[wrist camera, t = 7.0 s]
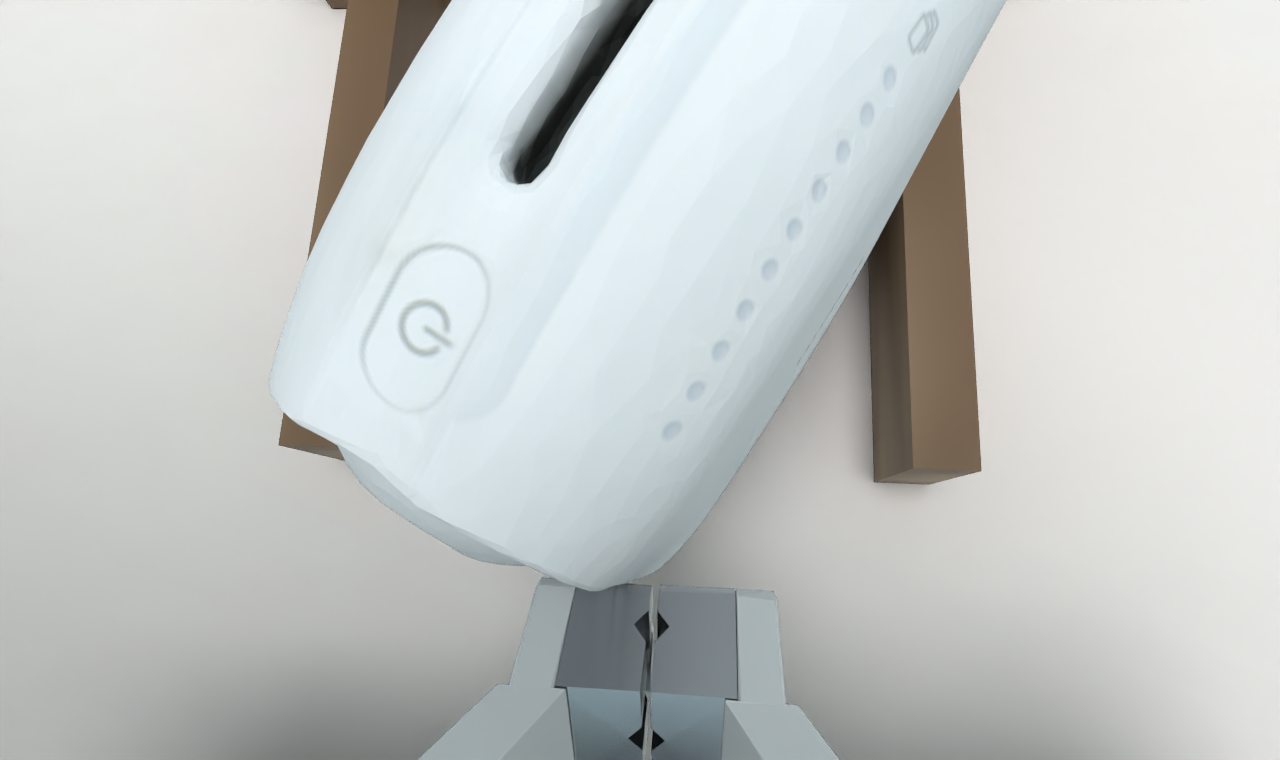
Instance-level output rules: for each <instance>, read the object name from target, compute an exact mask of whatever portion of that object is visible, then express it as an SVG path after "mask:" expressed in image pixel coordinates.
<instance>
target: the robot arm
mask: <svg viewBox="0 0 1280 760" xmlns="http://www.w3.org/2000/svg"><path fill="white" fill-rule="evenodd" d="M653 606H654V600H653V586H649V585H637V584H625V583H624V584H621V585H616V586H612V587H609V588H607V589H604V590H601V591H587V590H584V589H581V588H578V587H575V586H572V585H568V584H565V583H562V582H560V581H558V580H556V579H554V578H545V577H542V579H541V580H540V582H539V584H538V585H537V587H536V590H535V593H534V597H533V600H532V604H531V608H530V611H529V615H528V618H527V622H526V625H525V629H524V632H523V636H522V640H521V643H520V647H519V650H518V654H517V657H516V661H515V664H514V668H513V672H512V675H511V679H510V682H509V684H497V685H496V686H495V687H494V688H493V689H492V690H491V691H490V692H489V693H488V694H486V695H485V696H484V697H483V698H482V699H481V700H480V701H479V702H478V703H477V704H476V705H475V706H474V707H473V708H472V709H471V710H470V711H469V712H467V713H466V714H465V715H464V716H463V717H462V718H461V719H460V720H459V721H458V722H457V723H456V724H455V725H454V726H453V727H452V728H451V729H450V730H448V731H447V732H446V733H445V734H444V735H443V736H442V737H441V738H440V739H439V740H438V741H437V742H436V743H435V744H434V745H433V746H432V747H431V748H429V749H428V750H427V751H426V752H425V753H424V754H423V755H422V756H421V757H420V758H419V759H418V760H645V756H646V746H647V735H648V701H649V700H650V699H651V728H652V729H653V737H652V750H651V754H652V760H839V759H838V757H837V756H836V755H835V753H834V752H833V751H832V749H831V748H830V747H829V745H828V744H827V743H826V742H825V740H824V739H823V738H822V736H821V735H820V734H819V732H818V731H817V730H816V728H815V727H814V726H813V724H812V723H811V722H810V720H809V719H808V718H807V716H806V715H805V714H804V712H803V711H802V710H801V709H800V707H799V706H798V705H789V704H786V698H785V687H784V675H783V664H782V652H781V641H780V630H779V618H778V607H777V597H776V595H775V593H774V591H763V590H745V589H736V590H734V588H713V587H690V586H668V585H661V587H660V592H659V601H658V639H657V640H656V641H655V644H654V626H653V625H652V617H653Z"/></svg>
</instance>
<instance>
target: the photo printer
mask: <svg viewBox="0 0 1280 760" xmlns="http://www.w3.org/2000/svg"><path fill="white" fill-rule="evenodd" d="M1005 2H1006V0H452V1H451V2H450V4H449V5H448V7H447V8H446V10H445V11H444V13H443V15H442V16H441V18H440V19H439V21H438V22H437V24H436V25H435V27H434V29H433V30H432V32H431V33H430V35H429V36H428V38H427V39H426V41H425V42H424V44H423V46H422V47H421V49H420V50H419V52H418V53H417V55H416V57H415V58H414V60H413V62H412V63H411V65H410V67H409V69H408V70H407V72H406V74H405V75H404V77H403V79H402V80H401V82H400V84H399V86H398V87H397V89H396V91H395V92H394V94H393V96H392V97H391V99H390V101H389V102H388V104H387V106H386V108H385V109H384V111H383V113H382V114H381V116H380V118H379V119H378V121H377V123H376V125H375V126H374V128H373V130H372V131H371V133H370V135H369V136H368V138H367V140H366V142H365V144H364V146H363V148H362V150H361V152H360V153H359V155H358V157H357V159H356V161H355V163H354V165H353V167H352V169H351V171H350V172H349V174H348V176H347V178H346V180H345V182H344V184H343V186H342V188H341V190H340V192H339V194H338V196H337V198H336V200H335V202H334V204H333V206H332V208H331V210H330V212H329V214H328V216H327V218H326V220H325V222H324V224H323V226H322V229H321V231H320V233H319V236H318V238H317V240H316V242H315V245H314V247H313V249H312V252H311V254H310V256H309V258H308V261H307V263H306V265H305V268H304V271H303V273H302V276H301V279H300V282H299V285H298V288H297V291H296V293H295V296H294V299H293V302H292V305H291V308H290V311H289V313H288V316H287V319H286V322H285V325H284V328H283V332H282V335H281V338H280V341H279V344H278V348H277V351H276V355H275V359H274V362H273V366H272V370H271V374H270V378H269V388H270V395H271V396H272V397H273V399H274V400H275V401H276V403H277V404H278V406H279V407H280V409H281V410H282V411H283V412H284V413H285V414H286V415H287V416H288V417H289V418H291V419H292V420H293V421H294V422H296V423H297V424H298V425H300V426H302V427H304V428H306V429H308V430H310V431H312V432H314V433H316V434H318V435H320V436H322V437H324V438H325V439H327V440H329V441H331V442H332V443H334V444H336V445H337V446H338V447H339V449H340V451H341V453H342V455H343V457H344V459H345V461H346V463H347V464H348V466H349V467H350V469H351V470H352V472H353V473H354V475H355V476H356V478H357V479H358V481H359V482H360V483H361V484H362V485H363V486H364V487H365V488H366V489H367V490H368V491H369V492H370V493H371V494H373V495H374V496H375V497H376V498H377V499H378V500H379V501H380V502H381V503H383V504H384V505H386V506H387V507H389V508H390V509H392V510H393V511H394V512H396V513H397V514H399V515H400V516H402V517H403V518H405V519H406V520H408V521H409V522H410V523H412V524H413V525H415V526H417V527H418V528H420V529H422V530H423V531H425V532H427V533H428V534H430V535H432V536H433V537H435V538H437V539H438V540H440V541H442V542H443V543H445V544H447V545H448V546H450V547H452V548H453V549H455V550H456V551H458V552H460V553H461V554H463V555H466V556H468V557H471V558H473V559H476V560H479V561H482V562H488V563H494V564H501V565H518V566H529V567H531V568H533V569H535V570H537V571H540V572H542V573H544V574H546V575H548V576H550V577H552V578H554V579H556V580H558V581H560V582H562V583H565V584H568V585H572V586H575V587H578V588H581V589H584V590H587V591H601V590H604V589H607V588H609V587H612V586H616V585H621V584H624V583H628V582H629V581H632V580H636V579H638V578H641V577H644V576H646V575H649V574H652V573H653V572H656V571H657V570H659V569H660V568H661V567H662V566H663V565H664V564H665V563H666V562H667V561H668V560H670V559H671V558H672V557H673V556H674V555H675V554H676V553H677V552H678V551H679V549H680V548H681V547H682V546H683V545H684V544H685V543H686V542H687V540H688V539H689V538H690V537H691V536H692V535H693V533H694V532H695V531H696V529H697V528H698V527H699V525H700V524H701V523H702V521H703V520H704V518H705V517H706V516H707V514H708V513H709V511H710V510H711V508H712V507H713V506H714V504H715V503H716V501H717V500H718V498H719V497H720V496H721V494H722V493H723V491H724V490H725V488H726V487H727V485H728V484H729V482H730V481H731V480H732V478H733V477H734V475H735V474H736V472H737V471H738V469H739V468H740V466H741V464H742V463H743V461H744V460H745V458H746V457H747V455H748V454H749V452H750V451H751V449H752V447H753V446H754V444H755V443H756V441H757V440H758V438H759V437H760V435H761V434H762V432H763V431H764V429H765V427H766V426H767V424H768V423H769V421H770V420H771V418H772V416H773V415H774V413H775V412H776V410H777V409H778V407H779V406H780V404H781V402H782V401H783V399H784V398H785V396H786V394H787V393H788V391H789V390H790V388H791V387H792V385H793V383H794V382H795V380H796V379H797V377H798V375H799V374H800V372H801V371H802V369H803V367H804V366H805V364H806V362H807V361H808V359H809V358H810V356H811V354H812V353H813V351H814V350H815V348H816V346H817V345H818V343H819V341H820V339H821V338H822V336H823V334H824V333H825V331H826V329H827V328H828V326H829V324H830V323H831V321H832V319H833V318H834V316H835V314H836V313H837V311H838V309H839V308H840V306H841V304H842V303H843V301H844V299H845V297H846V296H847V294H848V292H849V290H850V288H851V287H852V285H853V283H854V281H855V279H856V278H857V276H858V274H859V272H860V271H861V269H862V267H863V265H864V263H865V262H866V260H867V258H868V256H869V254H870V253H871V251H872V249H873V247H874V245H875V243H876V241H877V240H878V238H879V236H880V234H881V232H882V230H883V228H884V226H885V225H886V223H887V221H888V219H889V217H890V215H891V213H892V212H893V210H894V208H895V206H896V204H897V202H898V200H899V198H900V197H901V195H902V193H903V191H904V189H905V187H906V185H907V184H908V182H909V180H910V178H911V176H912V174H913V172H914V170H915V169H916V167H917V165H918V163H919V161H920V159H921V157H922V155H923V154H924V152H925V150H926V148H927V146H928V144H929V142H930V141H931V139H932V137H933V135H934V133H935V131H936V129H937V128H938V126H939V124H940V122H941V120H942V118H943V116H944V114H945V113H946V111H947V109H948V107H949V105H950V103H951V101H952V100H953V98H954V96H955V94H956V92H957V90H958V88H959V87H960V85H961V83H962V81H963V79H964V77H965V75H966V73H967V72H968V70H969V68H970V66H971V64H972V62H973V60H974V59H975V57H976V55H977V53H978V51H979V49H980V47H981V46H982V44H983V42H984V40H985V38H986V36H987V35H988V33H989V31H990V29H991V27H992V25H993V24H994V22H995V20H996V18H997V16H998V15H999V13H1000V11H1001V9H1002V7H1003V5H1004V4H1005Z"/></svg>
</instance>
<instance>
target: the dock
mask: <svg viewBox="0 0 1280 760" xmlns="http://www.w3.org/2000/svg"><path fill="white" fill-rule="evenodd" d="M326 1H327V2H328V4H329V5H330V7H331V8H347V11H346V18H345V24H344V31H343V37H342V43H341V50H340V56H339V62H338V69H337V75H336V82H335V88H334V94H333V101H332V107H331V114H330V120H329V126H328V133H327V139H326V145H325V152H324V158H323V165H322V171H321V177H320V184H319V190H318V197H317V203H316V209H315V216H314V222H313V228H312V235H311V241H310V248H309V254H308V258H309V256H310V254H311V252H312V249H313V247H314V245H315V242H316V240H317V238H318V236H319V233H320V231H321V229H322V226H323V224H324V222H325V220H326V218H327V216H328V214H329V212H330V210H331V208H332V206H333V204H334V202H335V200H336V198H337V196H338V194H339V192H340V190H341V188H342V186H343V184H344V182H345V180H346V178H347V176H348V174H349V172H350V171H351V169H352V167H353V165H354V163H355V161H356V159H357V157H358V155H359V153H360V152H361V150H362V148H363V146H364V144H365V142H366V140H367V138H368V136H369V135H370V133H371V131H372V130H373V128H374V126H375V125H376V123H377V121H378V119H379V118H380V116H381V114H382V113H383V111H384V109H385V108H386V106H387V104H388V102H389V101H390V99H391V97H392V96H393V94H394V92H395V91H396V89H397V87H398V86H399V84H400V82H401V80H402V79H403V77H404V75H405V74H406V72H407V70H408V69H409V67H410V65H411V63H412V62H413V60H414V58H415V57H416V55H417V53H418V52H419V50H420V49H421V47H422V46H423V44H424V42H425V41H426V39H427V38H428V36H429V35H430V33H431V32H432V30H433V29H434V27H435V25H436V24H437V22H438V21H439V19H440V18H441V16H442V15H443V13H444V11H445V10H446V8H447V7H448V5H449V4H450V2H451V1H452V0H326ZM307 261H308V260H307ZM869 295H870V334H871V374H872V413H873V452H874V482H884V483H910V484H933V483H936V482H940V481H944V480H948V479H952V478H956V477H960V476H964V475H968V474H972V473H976V472H980V471H981V456H980V438H979V421H978V404H977V387H976V369H975V352H974V335H973V318H972V301H971V283H970V266H969V249H968V232H967V214H966V197H965V180H964V163H963V145H962V128H961V111H960V94H959V88H958V90H957V92H956V94H955V96H954V98H953V100H952V101H951V103H950V105H949V107H948V109H947V111H946V113H945V114H944V116H943V118H942V120H941V122H940V124H939V126H938V128H937V129H936V131H935V133H934V135H933V137H932V139H931V141H930V142H929V144H928V146H927V148H926V150H925V152H924V154H923V155H922V157H921V159H920V161H919V163H918V165H917V167H916V169H915V170H914V172H913V174H912V176H911V178H910V180H909V182H908V184H907V185H906V187H905V189H904V191H903V193H902V195H901V197H900V198H899V200H898V202H897V204H896V206H895V208H894V210H893V212H892V213H891V215H890V217H889V219H888V221H887V223H886V225H885V226H884V228H883V230H882V232H881V234H880V236H879V238H878V240H877V241H876V243H875V245H874V247H873V249H872V251H871V253H870V254H869ZM279 445H280V446H285V447H289V448H293V449H297V450H302V451H306V452H310V453H314V454H319V455H323V456H327V457H332V458H336V459H340V460H344V461H345V459H344V457H343V455H342V453H341V451H340V449H339V447H338V446H337V445H336V444H334V443H332V442H331V441H329V440H327V439H325V438H324V437H322V436H320V435H318V434H316V433H314V432H312V431H310V430H308V429H306V428H304V427H302V426H300V425H298V424H297V423H296V422H294V421H293V420H292V419H291V418H289V417H288V416H287V415H286V414H285V413H284V414H283V420H282V426H281V433H280V439H279Z"/></svg>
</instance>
